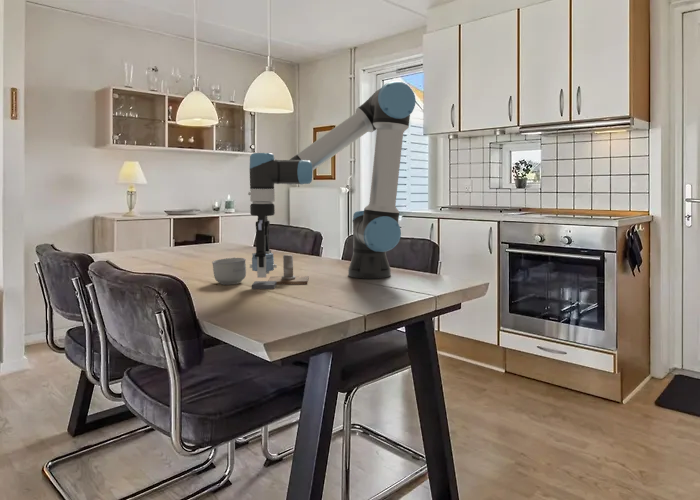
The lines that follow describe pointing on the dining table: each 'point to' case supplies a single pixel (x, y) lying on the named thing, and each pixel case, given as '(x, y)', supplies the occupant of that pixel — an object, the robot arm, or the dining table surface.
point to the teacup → (229, 270)
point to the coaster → (264, 285)
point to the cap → (269, 262)
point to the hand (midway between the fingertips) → (263, 275)
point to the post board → (296, 281)
